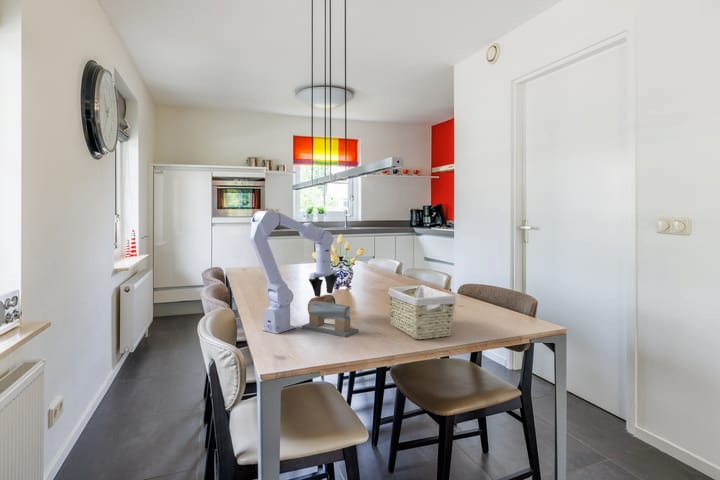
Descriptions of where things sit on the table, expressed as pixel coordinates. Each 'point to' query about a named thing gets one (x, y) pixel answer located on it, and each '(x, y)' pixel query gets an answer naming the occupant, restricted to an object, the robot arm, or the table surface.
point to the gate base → (330, 326)
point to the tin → (323, 299)
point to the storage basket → (421, 311)
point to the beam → (329, 310)
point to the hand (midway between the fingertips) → (323, 294)
